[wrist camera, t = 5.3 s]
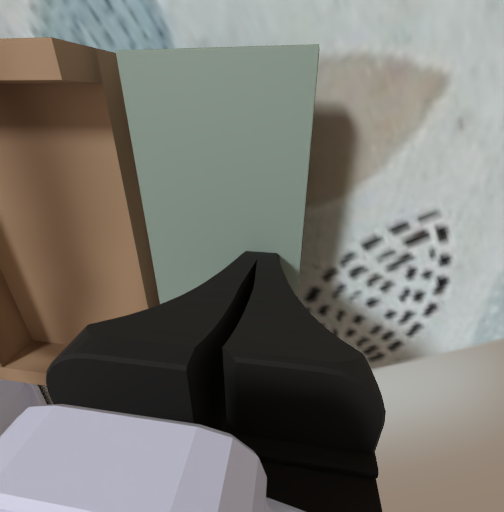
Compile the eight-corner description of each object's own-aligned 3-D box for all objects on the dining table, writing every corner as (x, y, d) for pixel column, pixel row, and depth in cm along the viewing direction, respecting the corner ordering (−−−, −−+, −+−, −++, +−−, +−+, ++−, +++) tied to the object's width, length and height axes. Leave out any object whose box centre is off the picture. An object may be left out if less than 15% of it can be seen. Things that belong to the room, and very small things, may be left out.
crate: (42, 334, 19) (-7, 378, 16) (-76, 57, 12) (-201, 44, 9) (170, 348, 18) (143, 399, 15) (120, 54, 11) (51, 37, 8)
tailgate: (174, 383, 16) (287, 404, 15) (115, 50, 9) (319, 44, 8) (181, 368, 17) (289, 387, 16) (133, 54, 10) (319, 49, 9)
